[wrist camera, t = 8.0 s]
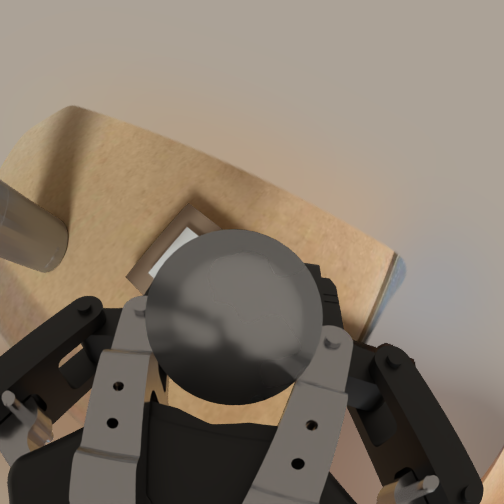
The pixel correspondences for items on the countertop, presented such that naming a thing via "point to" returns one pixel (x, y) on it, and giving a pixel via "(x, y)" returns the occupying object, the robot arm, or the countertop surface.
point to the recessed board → (169, 245)
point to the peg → (233, 317)
